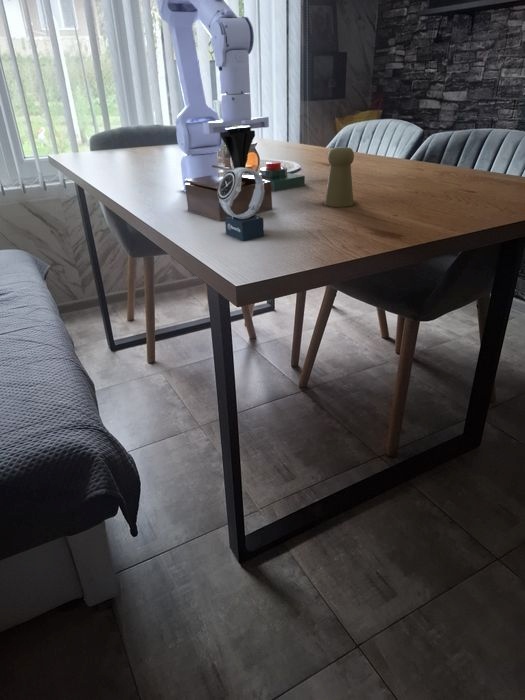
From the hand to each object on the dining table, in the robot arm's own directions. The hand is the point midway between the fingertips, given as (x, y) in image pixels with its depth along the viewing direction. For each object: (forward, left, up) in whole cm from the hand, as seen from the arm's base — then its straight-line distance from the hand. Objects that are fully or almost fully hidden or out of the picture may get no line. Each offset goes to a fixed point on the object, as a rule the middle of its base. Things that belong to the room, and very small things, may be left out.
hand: (239, 169), depth 98 cm
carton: (0, -3, -8) cm, 8 cm away
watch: (+17, -12, -8) cm, 22 cm away
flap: (0, 0, -1) cm, 1 cm away
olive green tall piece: (+13, +16, -8) cm, 22 cm away
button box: (-13, +20, -8) cm, 25 cm away
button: (-13, +20, -4) cm, 24 cm away
